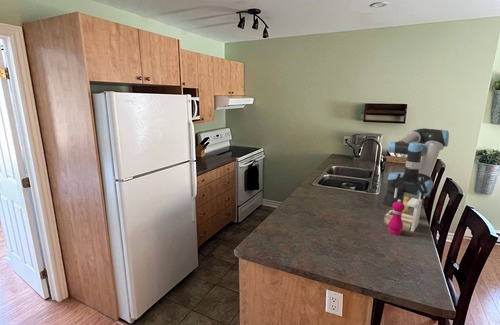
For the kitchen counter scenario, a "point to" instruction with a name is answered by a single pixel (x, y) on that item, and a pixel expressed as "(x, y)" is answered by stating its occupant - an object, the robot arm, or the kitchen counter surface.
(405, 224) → the socket block
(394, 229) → the pepper mill
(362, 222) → the kitchen counter surface
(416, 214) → the awning
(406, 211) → the peg
